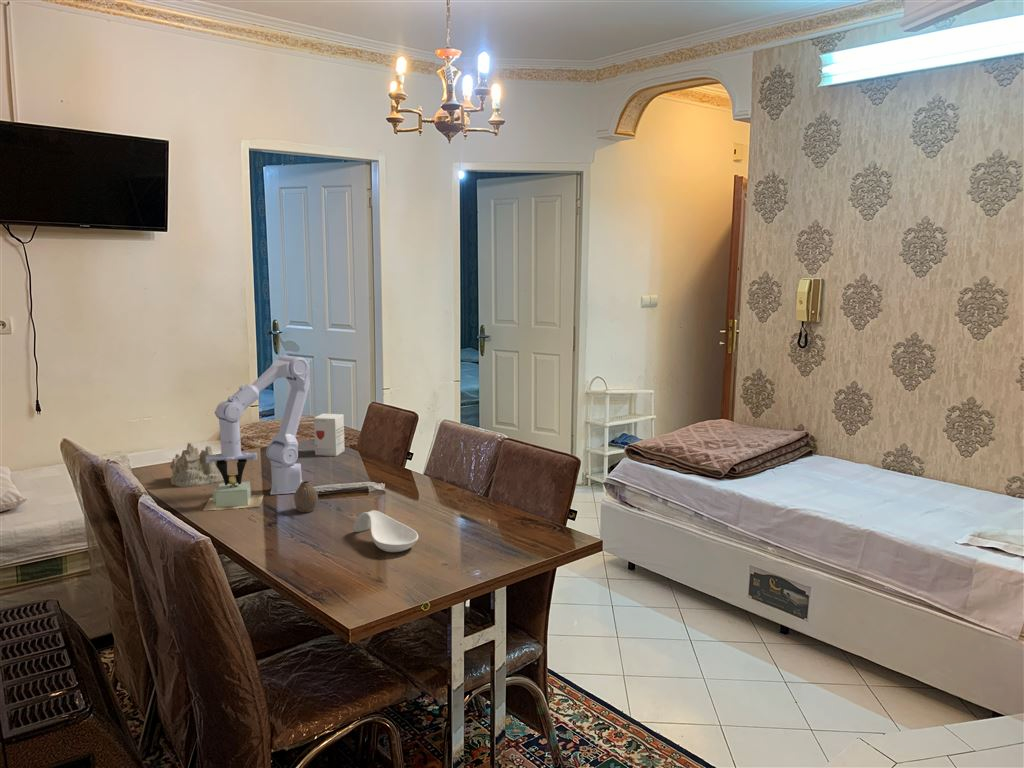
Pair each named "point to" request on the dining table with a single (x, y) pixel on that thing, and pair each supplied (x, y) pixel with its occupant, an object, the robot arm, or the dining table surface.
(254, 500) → the cork mat
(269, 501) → the dining table surface
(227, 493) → the mint green slotted box
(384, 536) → the spoon rest
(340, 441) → the supplement box
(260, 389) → the robot arm
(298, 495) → the vase
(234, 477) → the gold rounded piece
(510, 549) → the dining table surface
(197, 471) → the sand castle
